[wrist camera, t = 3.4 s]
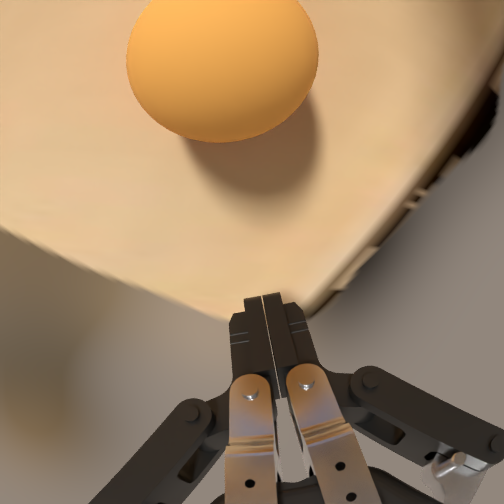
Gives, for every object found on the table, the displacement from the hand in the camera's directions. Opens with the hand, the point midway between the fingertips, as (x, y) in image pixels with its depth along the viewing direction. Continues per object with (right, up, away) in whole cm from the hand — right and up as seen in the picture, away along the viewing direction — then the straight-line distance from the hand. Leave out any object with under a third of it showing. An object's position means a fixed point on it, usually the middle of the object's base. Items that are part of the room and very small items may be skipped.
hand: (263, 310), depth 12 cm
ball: (-1, +8, -5) cm, 10 cm away
